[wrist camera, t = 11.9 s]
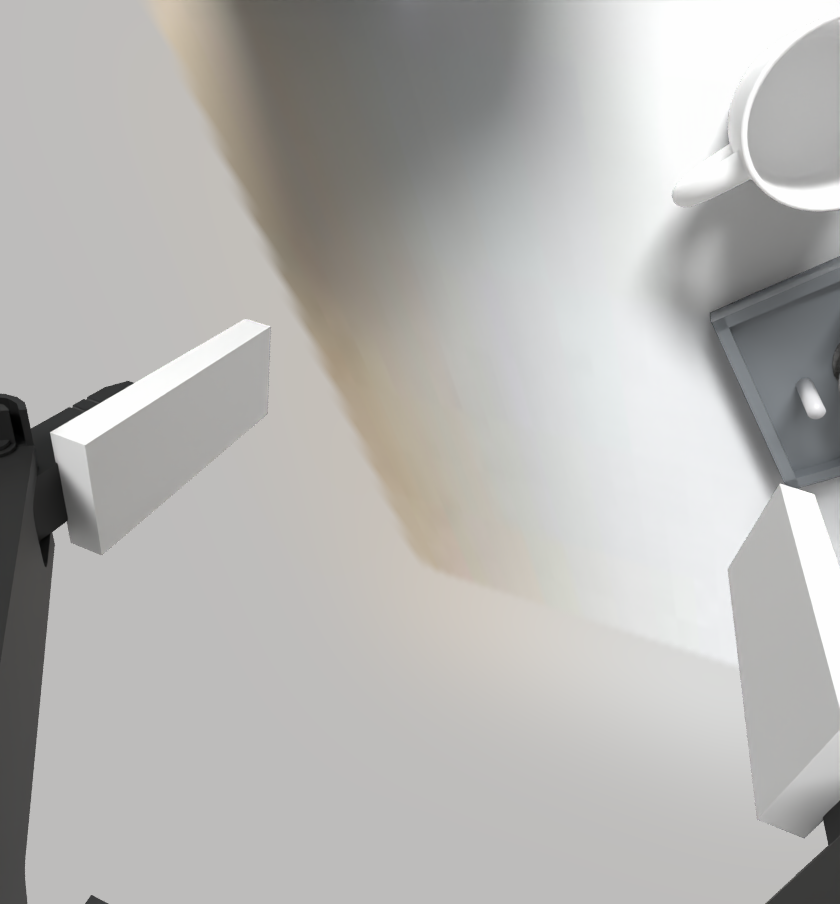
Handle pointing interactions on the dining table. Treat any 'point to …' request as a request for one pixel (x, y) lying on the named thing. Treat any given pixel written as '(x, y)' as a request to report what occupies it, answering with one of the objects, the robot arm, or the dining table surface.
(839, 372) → the dark grey tall piece
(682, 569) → the dining table surface
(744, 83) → the mug
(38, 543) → the robot arm
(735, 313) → the tray
